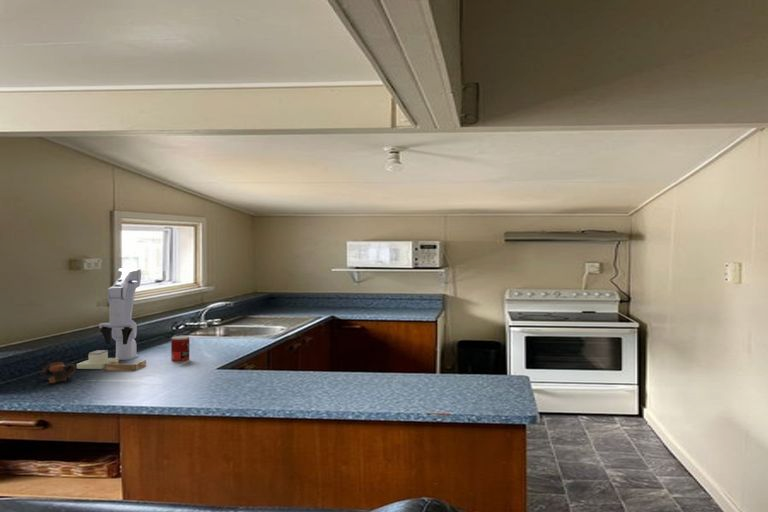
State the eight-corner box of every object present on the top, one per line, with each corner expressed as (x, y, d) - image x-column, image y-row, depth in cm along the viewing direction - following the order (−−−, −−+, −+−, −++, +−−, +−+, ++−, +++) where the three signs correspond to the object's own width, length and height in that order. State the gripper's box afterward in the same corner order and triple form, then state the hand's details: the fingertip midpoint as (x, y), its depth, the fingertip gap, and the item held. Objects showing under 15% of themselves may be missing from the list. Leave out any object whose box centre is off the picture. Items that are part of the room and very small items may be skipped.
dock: (116, 366, 226) (116, 359, 226) (146, 366, 225) (146, 360, 225) (104, 371, 216) (104, 364, 216) (134, 371, 216) (134, 364, 216)
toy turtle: (40, 386, 194) (36, 366, 196) (47, 391, 202) (43, 372, 205) (76, 375, 199) (71, 355, 201) (81, 380, 207) (77, 361, 209)
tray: (94, 363, 232) (94, 357, 232) (118, 363, 232) (118, 358, 232) (76, 369, 219) (76, 363, 219) (102, 370, 219) (102, 364, 219)
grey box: (98, 363, 230) (98, 349, 230) (108, 363, 229) (108, 350, 229) (88, 367, 222) (88, 353, 222) (98, 367, 222) (98, 353, 222)
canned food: (183, 362, 234) (183, 338, 234) (167, 362, 235) (167, 338, 235) (192, 359, 242) (192, 336, 242) (177, 358, 243) (177, 335, 243)
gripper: (95, 314, 224) (95, 345, 224) (128, 314, 224) (127, 345, 224) (104, 312, 231) (104, 342, 231) (136, 312, 231) (136, 343, 231)
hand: (116, 344), depth 228 cm, fingers open, 7 cm apart
